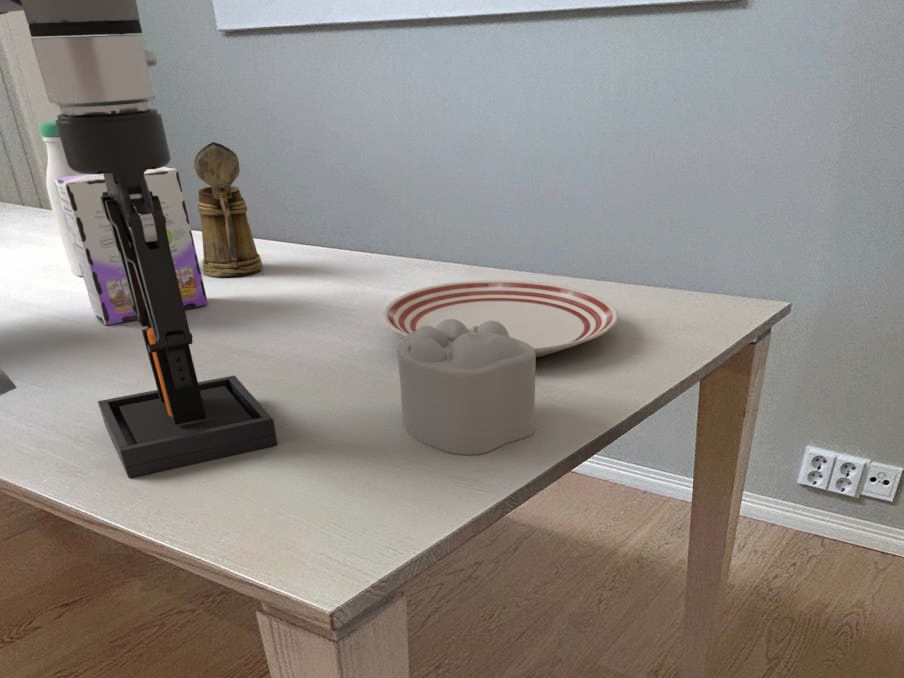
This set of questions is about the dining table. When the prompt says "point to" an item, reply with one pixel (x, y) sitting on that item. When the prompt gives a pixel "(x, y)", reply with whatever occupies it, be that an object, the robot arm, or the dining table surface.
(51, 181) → the milk bottle
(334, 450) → the dining table surface
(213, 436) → the shallow rectangular tray
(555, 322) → the dinner plate
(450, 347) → the lumpy-topped squat cylinder
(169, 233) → the candy box
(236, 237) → the wooden mug
